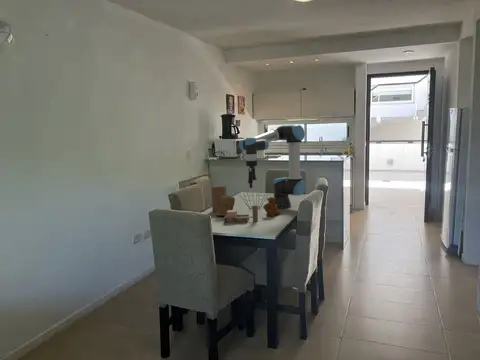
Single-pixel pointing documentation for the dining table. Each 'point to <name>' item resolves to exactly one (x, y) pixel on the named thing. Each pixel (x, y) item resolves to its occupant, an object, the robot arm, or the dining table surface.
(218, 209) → the wooden block
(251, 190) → the robot arm
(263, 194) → the dining table surface
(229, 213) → the corded block
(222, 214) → the brown boot
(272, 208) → the stuffed squirrel
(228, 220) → the walnut lane
